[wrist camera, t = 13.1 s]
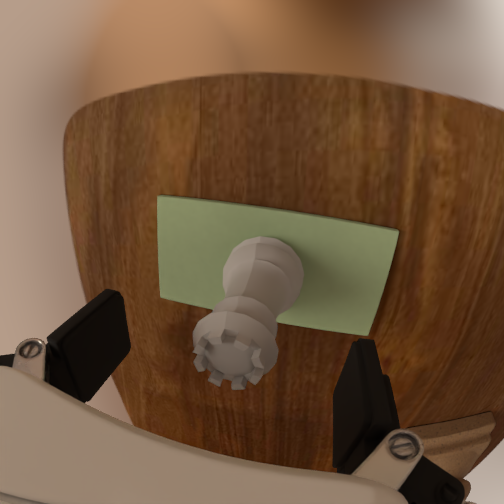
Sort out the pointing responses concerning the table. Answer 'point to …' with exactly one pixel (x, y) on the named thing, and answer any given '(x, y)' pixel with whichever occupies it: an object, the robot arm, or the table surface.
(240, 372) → the rook chess piece
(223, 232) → the mat
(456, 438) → the candle holder
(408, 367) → the table surface
